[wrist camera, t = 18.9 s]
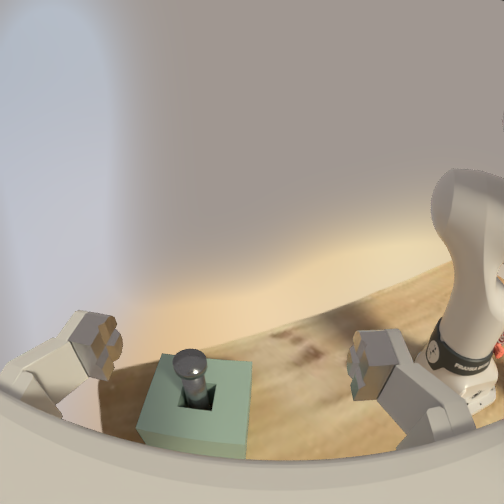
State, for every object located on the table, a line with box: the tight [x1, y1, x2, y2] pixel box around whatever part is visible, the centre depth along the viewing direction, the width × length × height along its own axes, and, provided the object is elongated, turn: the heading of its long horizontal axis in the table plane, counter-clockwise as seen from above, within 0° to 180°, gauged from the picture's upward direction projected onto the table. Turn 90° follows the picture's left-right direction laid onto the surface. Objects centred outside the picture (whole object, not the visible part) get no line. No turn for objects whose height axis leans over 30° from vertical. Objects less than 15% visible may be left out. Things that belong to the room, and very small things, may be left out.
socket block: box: [136, 354, 252, 459], centre depth 41 cm, size 15×15×6 cm
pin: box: [172, 349, 211, 411], centre depth 39 cm, size 4×4×14 cm
